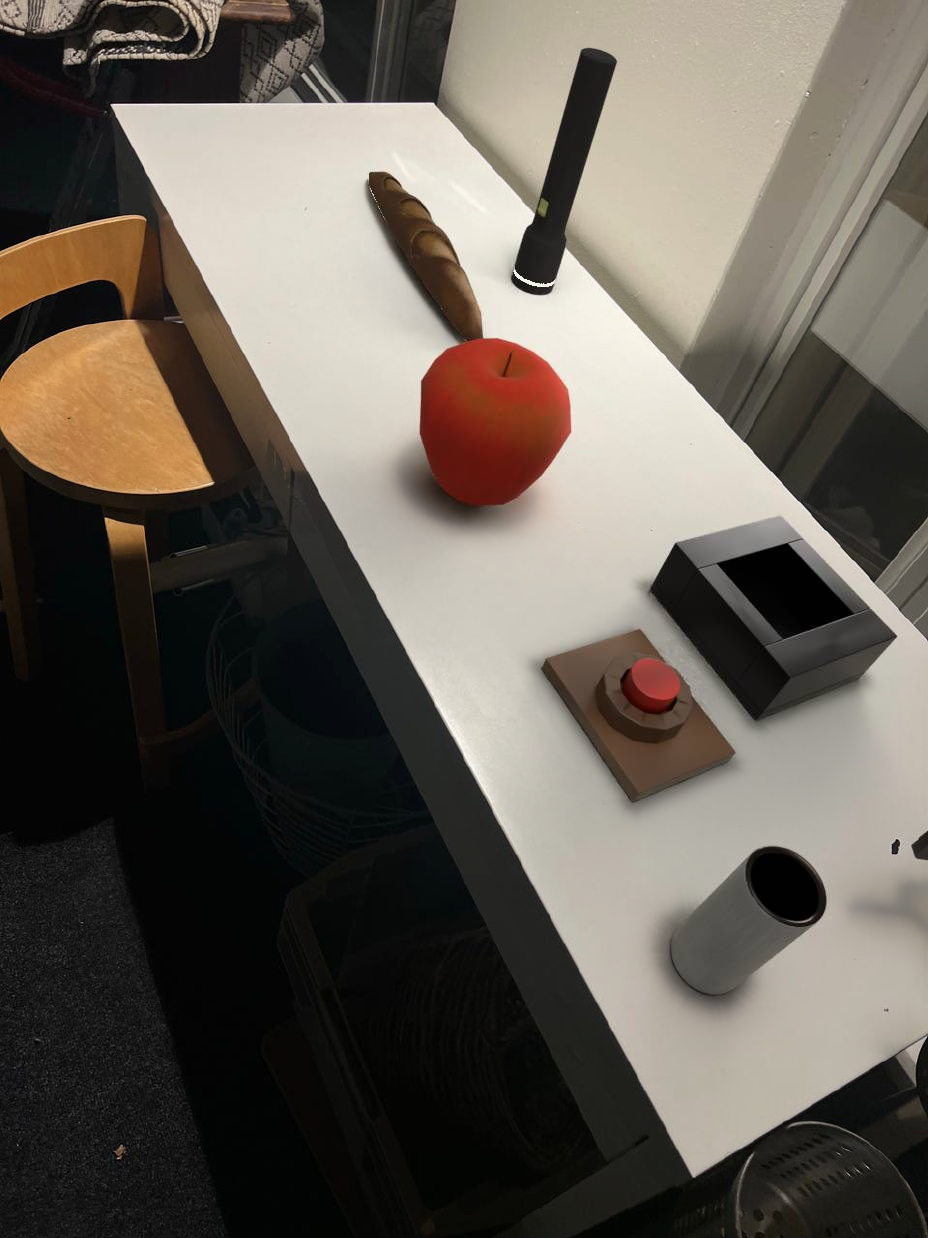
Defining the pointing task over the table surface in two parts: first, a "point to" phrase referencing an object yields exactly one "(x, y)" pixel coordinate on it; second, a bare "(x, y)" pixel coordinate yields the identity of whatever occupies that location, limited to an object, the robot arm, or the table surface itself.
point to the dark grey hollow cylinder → (748, 919)
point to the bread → (428, 253)
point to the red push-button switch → (635, 717)
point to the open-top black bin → (769, 614)
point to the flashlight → (564, 172)
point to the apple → (491, 420)
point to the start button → (651, 686)
